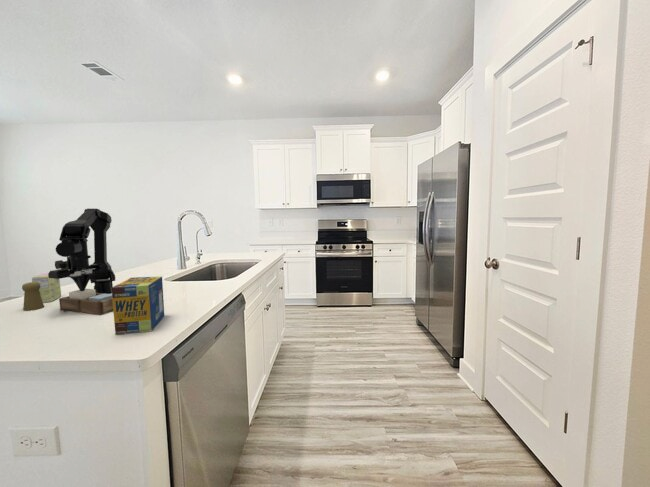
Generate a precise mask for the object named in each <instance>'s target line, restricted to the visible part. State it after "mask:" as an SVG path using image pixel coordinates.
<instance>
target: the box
mask: <svg viewBox="0 0 650 487" xmlns="http://www.w3.org/2000/svg"><path fill="white" fill-rule="evenodd" d="M48 273H49V272H47V273H41V274H39V275H36V276H33V277H31V282H38V283H39V284H40V289H39V292H40V295H41V298H42V301H43V304H45V303H51V302H54V301H55V300H57V299H59V298H62V290H61V281H60V280H61V279H54V278H49V277H48Z"/></svg>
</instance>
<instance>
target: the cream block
mask: <svg viewBox="0 0 650 487" xmlns="http://www.w3.org/2000/svg"><path fill="white" fill-rule="evenodd" d="M68 296H69V298H71V299H84V298H88V297H92V296H96V292H95V289H94V288H85V290H84V291H80V289H77V290H74V291H69V292H68Z"/></svg>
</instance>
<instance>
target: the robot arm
mask: <svg viewBox="0 0 650 487" xmlns="http://www.w3.org/2000/svg"><path fill="white" fill-rule="evenodd" d="M111 223H112V216H111V215H110V214H109V213H108V212H105V211H102V210H100V208H85V209H84V211H83V213H82V214H80V215H79V217H78V218H77V219H76V220H71V221H68V222H66V223H65V224H64V225H63V226H62V229H61V233H60V237H59V241H61V242H60V243H58V244H56V247H55V253H56V254H57V255H58V256H60V257H63V258H64V257H65V258H66V260H65V261H63V260H62V259H61V260H55V261H54V267H55V269H54V270H52V269H51V270H50V271H49V272H47V273H48V277H49V278H54V279H59V280H61V279H65V278H70V279H72V280H73V282H74V283H75V284H76V286H77V287H78V290H80V291H84V290H85V289H87V286H88V283H89V282H90V283H91V284H94V286H93V289H95V292H96V293H104V294H112V287H114V286H113V285H114V284H113V282H115V281H116V275H115V273H114V271H113V270H112V265H111V264H110V263H109V262H108V254H107V253H108V250H107V245H108V244H107V232H108V231H109V229H110V228H111ZM91 230H92V231H93V245H94V247H93V248H94V252H93V253H94V254H93V255H94V257H93V258H94V261H93V263H91V264H90V260H89V259H91V257H92V256H91V255H89V250H88V241H89V240H88V238H89V236H90V232H91Z"/></svg>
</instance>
